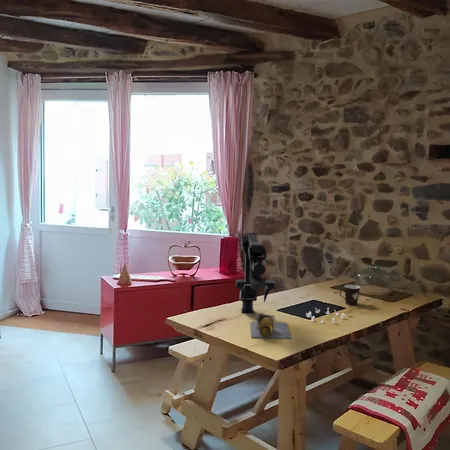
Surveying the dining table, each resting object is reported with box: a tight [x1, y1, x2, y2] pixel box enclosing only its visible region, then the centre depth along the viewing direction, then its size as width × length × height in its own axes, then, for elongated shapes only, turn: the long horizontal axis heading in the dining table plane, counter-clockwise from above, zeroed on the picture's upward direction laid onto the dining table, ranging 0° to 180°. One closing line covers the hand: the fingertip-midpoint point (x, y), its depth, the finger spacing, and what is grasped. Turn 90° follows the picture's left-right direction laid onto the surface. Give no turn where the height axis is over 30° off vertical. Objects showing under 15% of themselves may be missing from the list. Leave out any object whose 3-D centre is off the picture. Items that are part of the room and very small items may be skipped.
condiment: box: [256, 313, 276, 337], centre depth 241 cm, size 7×8×12 cm
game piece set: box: [305, 307, 346, 324], centre depth 269 cm, size 19×20×4 cm
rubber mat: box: [249, 321, 292, 340], centre depth 248 cm, size 22×18×1 cm
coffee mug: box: [339, 284, 361, 306], centre depth 295 cm, size 12×9×10 cm
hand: (254, 301), depth 252 cm, fingers open, 9 cm apart
